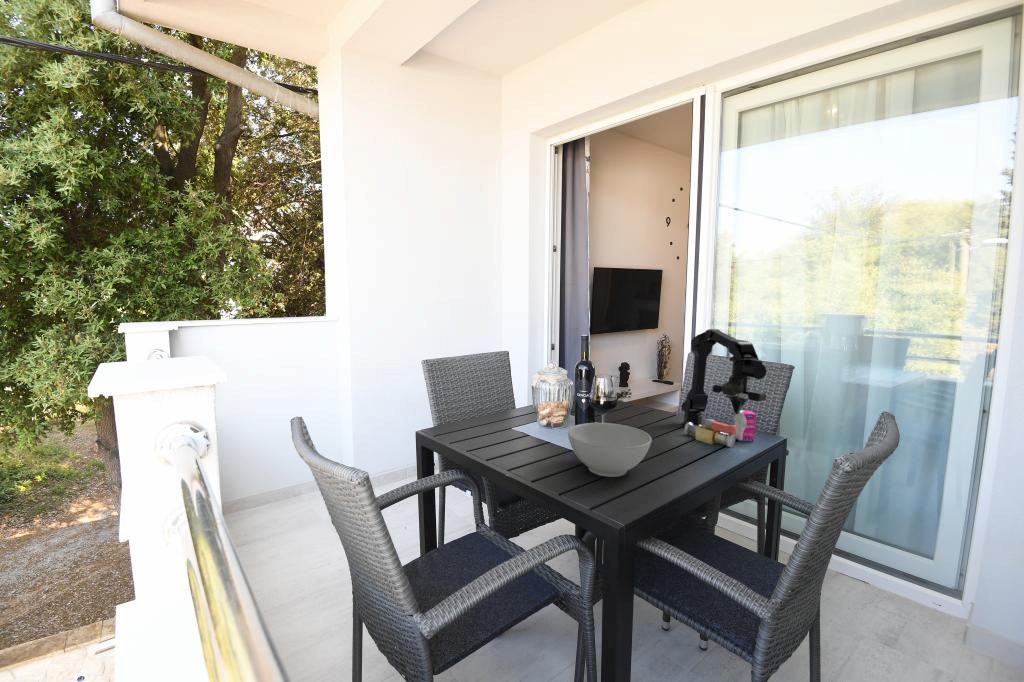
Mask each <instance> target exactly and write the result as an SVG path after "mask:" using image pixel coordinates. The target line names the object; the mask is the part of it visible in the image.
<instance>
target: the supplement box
mask: <svg viewBox="0 0 1024 682" xmlns="http://www.w3.org/2000/svg"><path fill="white" fill-rule="evenodd" d="M734 414H735V413H734ZM756 420H757V414H756V413H755V412H753V411H751V410H749V409H748V410H747V409H746V410H745V409H741V410H740V412H739V414H735V416H734V424H733V425H735V426H736V434H734V435H735V440H737V441H738V442H754V439H755V430H756Z"/></svg>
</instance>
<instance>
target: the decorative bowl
mask: <svg viewBox="0 0 1024 682" xmlns="http://www.w3.org/2000/svg"><path fill="white" fill-rule="evenodd" d="M567 436H568V437H567V438H568V440H569V444H570V447H571V448H572V451H573V453H574V454H575V455H576V457H577V458H578V459H579V461H580V462H581V463H583V464H584V466H586V467H588V470H589V471H590V472H591V473H593V474H595V475H597V476H601V477H606V478H607V477H609V478H613V477H614V478H616V477H623V476H624V475H626V473H627V471H629V470H631V469H633V468H634V467H636V466H637V465H638V464H640V463H641V461H643V459H644V458H645V456H646V455H647V453H648V451H649V449H650V447H651V445H652V437H651V435H650V434H649V433H648V432H646V431H644V430H642V429H639V428H637V427H633V426H630V425H625V424H619V423H611V422H589V423H588V422H587V423H580V424H577V425H574V426H572V427H569V429H568V431H567Z"/></svg>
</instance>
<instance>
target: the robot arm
mask: <svg viewBox="0 0 1024 682" xmlns="http://www.w3.org/2000/svg"><path fill="white" fill-rule="evenodd" d="M690 344H691V346H690V347H691V348H690V349H691V351H692V354H693V356H694V361H693V368H692V369H693V371H692V380H691V381H692V382H691V388H690V390H689V391H688V393H687V394H686V397H685V398H686V399H685V400H684V401H683V403H682V404H681V405H680V408H681V411H683V412H684V415H683V416H684V417H683V422H681V424H682V425H684V426H685V425H686V423H688V422H692V423H693V424H694V425H697V426H698V425H703V423H702V419H703V415H702V413H705V411H706V409H707V405H708V404H709V401H708V399H709V395H708V394H707V393H706V391H705V380H706V371H707V370H706V369H707V361H708V360H707V359H708V357H709V355H710V354H711V353H712V350H713V346H714V345H716V344H719V345H721V346H723V347H724V348H726V349H727V351H728V353H730V355H732V357H730V358H729V359H728V360H729V362H732V368H731V369H732V370H731V376H729V378H728V381H726V382H725V383H717V384H714V385H713V386H712V391H711V392H713V393H717V394H720V393H722V394H723V395H725V397H726V398H728V399H729V400H730V402H731V404H732V408H733V413H734V414H739V412H740V410H743V407H744V405H745V404H746V403H747V401H748V400H749V401H752V402H753V401H754V402H761V401H762V402H763V401H766V400H767V393H765V392H764V391H759V390H753V391H749V390H750V387H748V383H749V381H750V380H751V378H752V379H755V380H762V379H763V378H765V377H766V375H767V369H766V368H767V367H766V366H765V365H764V364H763V360H760V359H759V356H758V354H757V351H756V349H755V346H754V344H753V342H751V341H748V340H745V339H743V340H742V339H736V338H735V337H733V336H731V335H729V334H727V333H725V332H722V331H721V330H720V329H719V328H711V329H710V328H709V329H706V330H705V331H704V332H702V333H699V334H697V335H696V336H694V337H693V338H692V339H691V342H690Z"/></svg>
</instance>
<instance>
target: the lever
mask: <svg viewBox="0 0 1024 682" xmlns="http://www.w3.org/2000/svg"><path fill="white" fill-rule="evenodd" d="M704 425H705V427H706V428H712V429H715V430H719V431H722V432H723V433H725V434H736V426H735V425H734V424H726V423H723V422H718V421H716V420H715V419H712V418H705V420H704Z"/></svg>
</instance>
